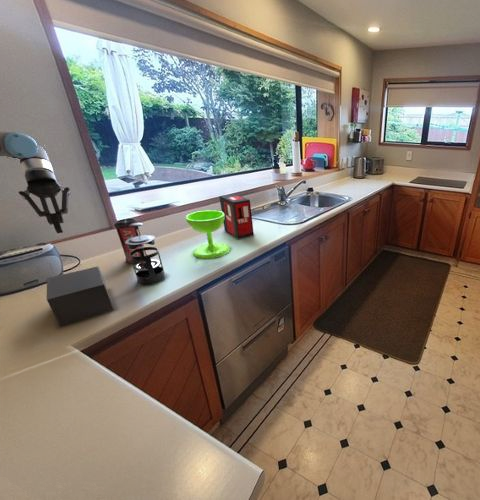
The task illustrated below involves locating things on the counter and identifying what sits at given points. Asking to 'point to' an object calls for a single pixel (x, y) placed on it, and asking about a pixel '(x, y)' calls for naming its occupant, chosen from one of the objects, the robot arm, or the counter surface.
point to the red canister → (127, 237)
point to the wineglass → (208, 232)
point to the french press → (145, 259)
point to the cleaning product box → (237, 215)
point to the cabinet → (78, 295)
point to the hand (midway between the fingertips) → (59, 231)
